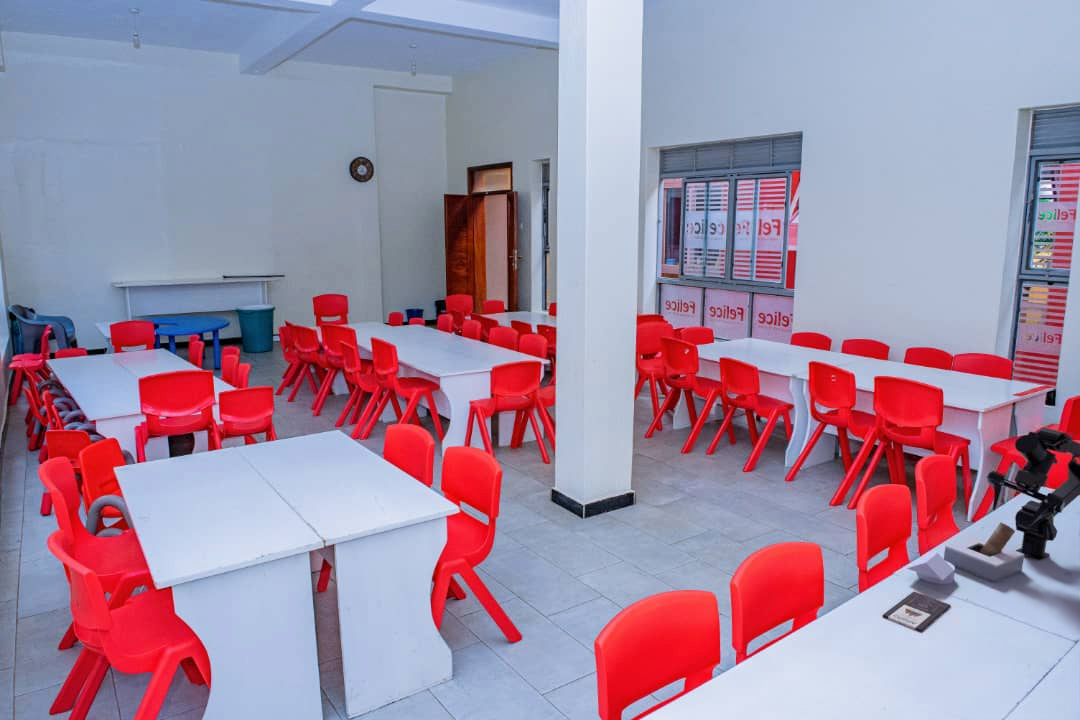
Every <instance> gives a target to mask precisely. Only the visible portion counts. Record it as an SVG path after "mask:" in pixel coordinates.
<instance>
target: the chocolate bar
mask: <svg viewBox="0 0 1080 720" xmlns="http://www.w3.org/2000/svg"><path fill="white" fill-rule="evenodd" d="M951 606H952V605H951V604H949V603H947V602H943V601H941V600H938V599H936V598H933V597H930V596H927V595H924V594H921V593H919V592H916V591H912V592H911V593H910V594H908V595H907V596H906V597H904V598H903V599H902V600H900V601H899V602H898V603H896V604H895V605H894V606H892V607H891V608H889V609H888V610H887V611H886V612H885V613H883V614H882V618H884V619H887V620H889V619H890V621H891V622H894V621H895V622H894V623H898V624H899V623H900V625H901V626H902V625H903V626H905V627H907V628H909V629H912V630H914V629H915V631H917V632H920V633H921V632H923V631H924V630H925V629H927V626H928V627H929V626H931V624H932V623H934V620H935V619H936V618H937V619H938V618H939V617H940V616H942V615H943V614H944V613H945V612H946V611H947V610H949V609H950V608H951ZM949 607H950V608H949ZM948 608H949V609H948ZM943 612H944V613H943ZM942 613H943V614H942ZM941 614H942V615H941ZM937 619H936V620H937ZM936 620H935V621H936Z"/></svg>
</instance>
